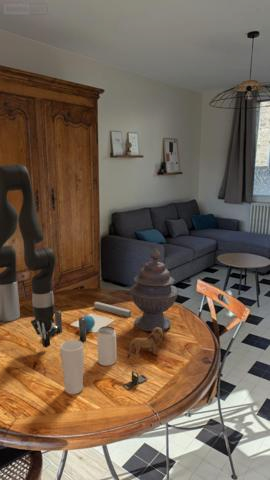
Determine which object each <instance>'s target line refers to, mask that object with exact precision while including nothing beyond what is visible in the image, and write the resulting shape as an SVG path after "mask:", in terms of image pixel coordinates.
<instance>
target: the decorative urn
mask: <svg viewBox="0 0 270 480" xmlns="http://www.w3.org/2000/svg"><path fill="white" fill-rule="evenodd" d="M149 256H150V258H151V259H152V261H148V262H146V263H144V267H143V266H142V268H140V269H139V272H138V274H137V275H136V276H135V277H134V278H133V280H134V282H136V283H135V284H134V285H132V286H130V288H129V292H130V296H131V299H132V302H133V304H134V305H135V307H137V308H138V310H139V311H141V312H143V313H142V315H141V316H137V318H136V319H134V322H133V323H134V326H135V327H137V328H139V329H140V330H142V331H144V332H149V333H150V332H151V333H152V332H153V329H154V328H156V327H159V328H162V332H165V331H166V330H168V329H169V328H170V327H171V325H172V320H171V319H170V318H168V317H167V316H164V313H165V312H167V311H168V310H169V309H170V308H171V307H173V306H174V304H175V302H176V300H177V299H178V298H177V297H178V293H179V290H178V289H177V287H176V286H175V285H172V284H173V283H174V282H175V279H174V278H173V276H171V274H170V271H169V270H168V269H167V268H166V265H165V263H164V262H160V261H158V260H159V259H160V258H161V256H162V255H161V253H160V251H159V250H158V248H157V247H155V248H153V250H152V251H150V254H149Z"/></svg>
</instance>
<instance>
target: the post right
mask: <svg viewBox="0 0 270 480" xmlns="http://www.w3.org/2000/svg"><path fill="white" fill-rule="evenodd" d="M78 320H79V328H78V330H79V331H78V333H79V334H78V335H79V341H81V342H82V343H83V342H86V341H87V330H86V320H85V318H84V316H83V317H79V318H78Z"/></svg>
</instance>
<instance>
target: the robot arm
mask: <svg viewBox="0 0 270 480" xmlns="http://www.w3.org/2000/svg"><path fill="white" fill-rule="evenodd" d="M13 191H21V194H22V204H21V208H20V211H19V214H18V212H17V210H16V208H15V207H14V206H13V205H12V203H11V202H10V201H9V199H8V193H9V192H13ZM17 227H19V231H20V234H21V238H22V241H23V255H24V257H23V259H24V260H23V261H24V264H25V267H26V268H27V269H28V270H29V271H31V272H35V271H39V270H40V271H39V273H37V274H35V275H34V276H33V277H32V278H31V290H32V293H31V295H32V296H31V301H32V313H33V314H32V315H33V317H34V319H32V320H31V321H30V323H31V325H32V327H33V329H34V331H35V332H36V334H37V335H38V336H39V337H40V338H41V344H42V347H43V348H48V347H50V345H51V338H53V337H54V336H55V335H56V334H57V333H56V332H57V330H58V329H59V326H58V325H57V326H56V325H55V318H54V316H55V311H56V310H55V299H54V298H55V297H54V292H53V275H54V272H55V267H56V259H57V258H56V254H55V252H54V250H53V249H51V248H50V247H44V248H39V249H36V245H37V244H39V243H42V242H43V240H44V234H43V232H42V231H43V230H42V228H41V224H40V221H39V218H38V214H37V209H36V205H35V199H34V193H33V187H32V183H31V177H30V174H29V171H28V169H27V167H26V166H25V165H24V164H5V165H0V269H2V268H5V269H4V270H3V271H1V272H0V322H5V323H6V322H7V323H8V322H13V321H16V320H18V319H19V318H20V317H21V311H20V310H21V309H20V300H19V299H20V298H19V288H18V273H17V252H16V249H15V247H14V246H13V245H5V243H7V241H9V240H10V239H11V238H12V237H13V236H14V235H15V232H16V231H17Z"/></svg>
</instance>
